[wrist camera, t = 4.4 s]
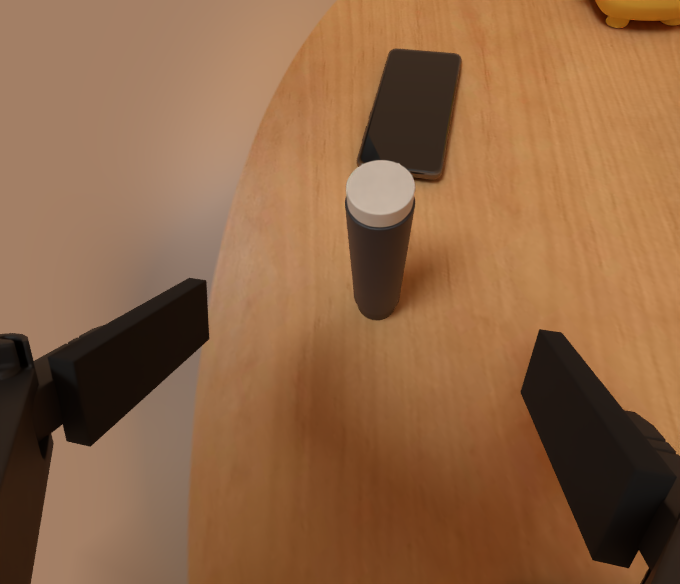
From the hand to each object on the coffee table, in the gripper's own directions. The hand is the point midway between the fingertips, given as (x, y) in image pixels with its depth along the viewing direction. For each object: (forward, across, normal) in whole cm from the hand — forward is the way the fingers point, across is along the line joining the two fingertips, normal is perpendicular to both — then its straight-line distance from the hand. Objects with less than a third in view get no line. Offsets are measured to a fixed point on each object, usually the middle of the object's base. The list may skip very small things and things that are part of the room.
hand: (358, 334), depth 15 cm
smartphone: (+27, 0, +10) cm, 29 cm away
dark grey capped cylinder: (+13, 0, -4) cm, 13 cm away
